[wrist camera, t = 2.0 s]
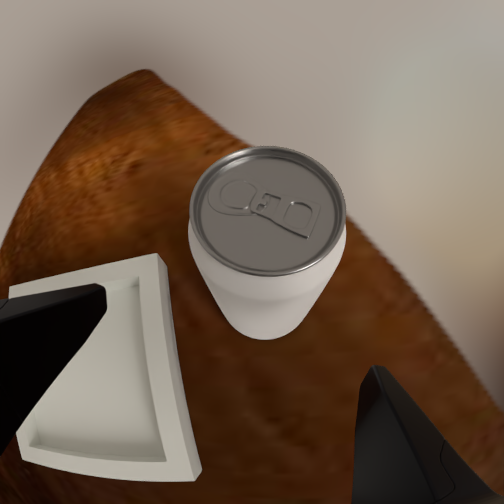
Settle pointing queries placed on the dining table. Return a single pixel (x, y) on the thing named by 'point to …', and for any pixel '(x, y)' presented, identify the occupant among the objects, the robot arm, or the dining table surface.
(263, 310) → the can
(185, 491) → the dining table surface
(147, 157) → the dining table surface
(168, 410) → the tray
